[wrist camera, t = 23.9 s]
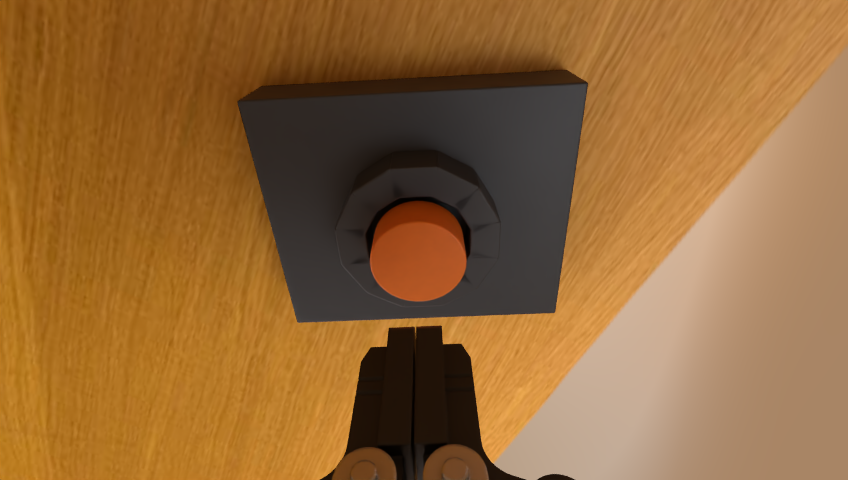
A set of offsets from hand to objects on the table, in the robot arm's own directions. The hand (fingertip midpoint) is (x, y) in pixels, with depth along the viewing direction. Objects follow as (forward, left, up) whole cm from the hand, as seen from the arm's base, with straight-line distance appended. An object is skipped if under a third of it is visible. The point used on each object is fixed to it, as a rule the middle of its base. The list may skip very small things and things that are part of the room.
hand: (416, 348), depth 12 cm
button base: (0, 0, -10) cm, 10 cm away
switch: (0, 0, -6) cm, 6 cm away
